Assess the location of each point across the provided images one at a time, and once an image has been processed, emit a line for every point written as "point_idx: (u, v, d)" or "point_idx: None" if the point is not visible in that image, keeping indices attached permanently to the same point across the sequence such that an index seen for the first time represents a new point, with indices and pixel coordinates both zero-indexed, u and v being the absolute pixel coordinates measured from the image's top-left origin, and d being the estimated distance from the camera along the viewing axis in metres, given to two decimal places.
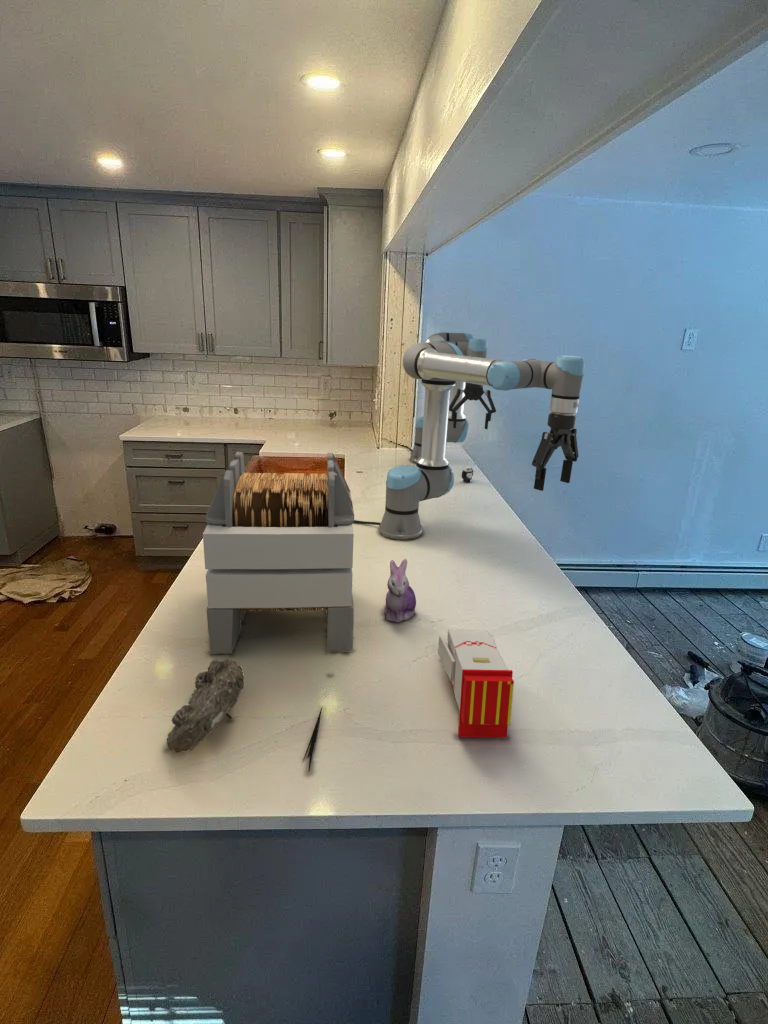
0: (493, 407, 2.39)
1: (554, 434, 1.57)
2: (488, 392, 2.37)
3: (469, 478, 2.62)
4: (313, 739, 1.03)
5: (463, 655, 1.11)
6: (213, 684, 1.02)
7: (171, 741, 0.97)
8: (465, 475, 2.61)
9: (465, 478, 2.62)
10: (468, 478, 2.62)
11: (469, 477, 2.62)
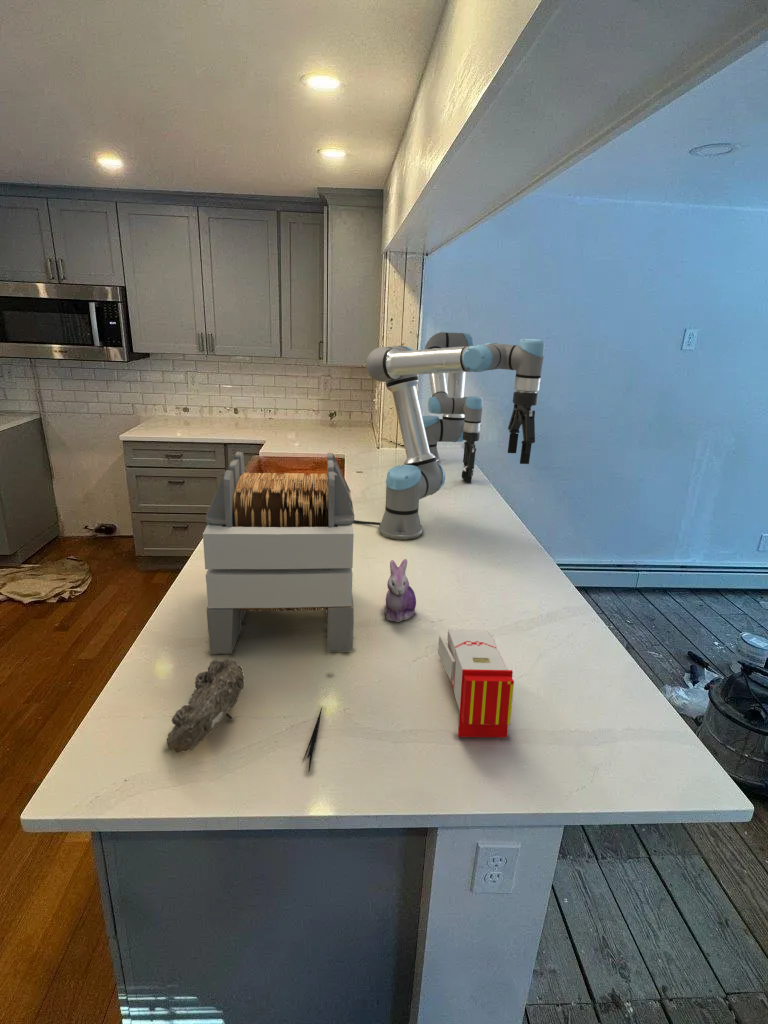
0: None
1: None
2: None
3: None
4: (313, 739, 1.03)
5: (463, 655, 1.11)
6: (213, 684, 1.02)
7: (171, 741, 0.97)
8: (465, 475, 2.61)
9: None
10: None
11: None
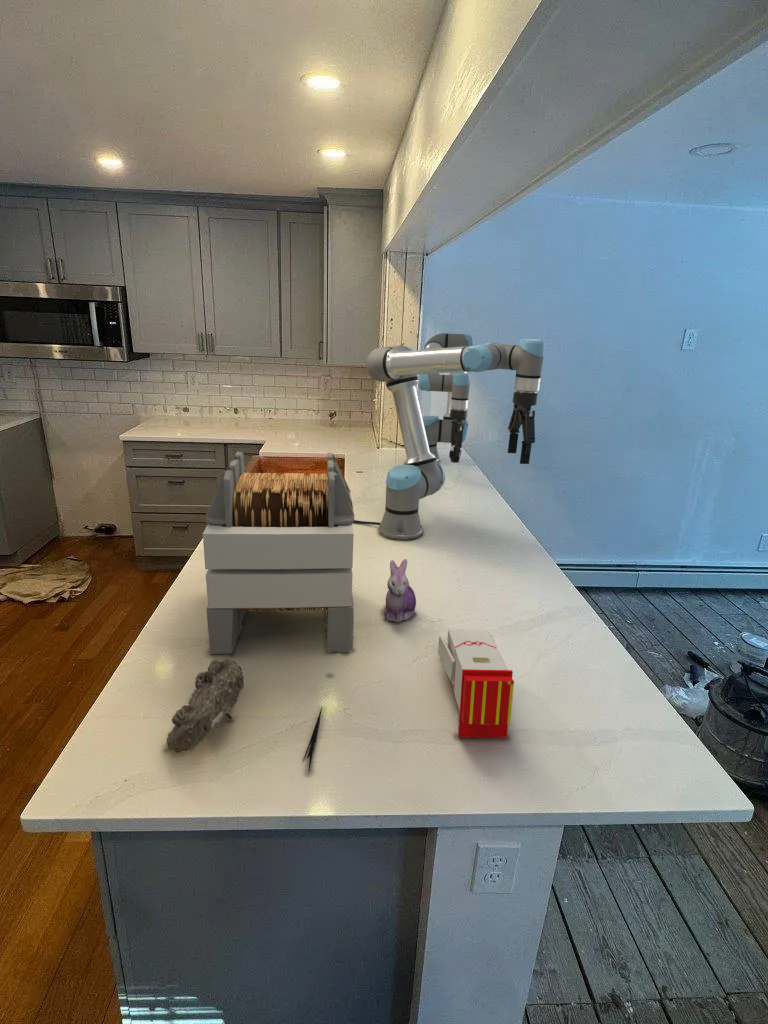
0: None
1: None
2: None
3: None
4: (313, 739, 1.03)
5: (463, 655, 1.11)
6: (213, 684, 1.02)
7: (171, 741, 0.97)
8: None
9: None
10: None
11: None
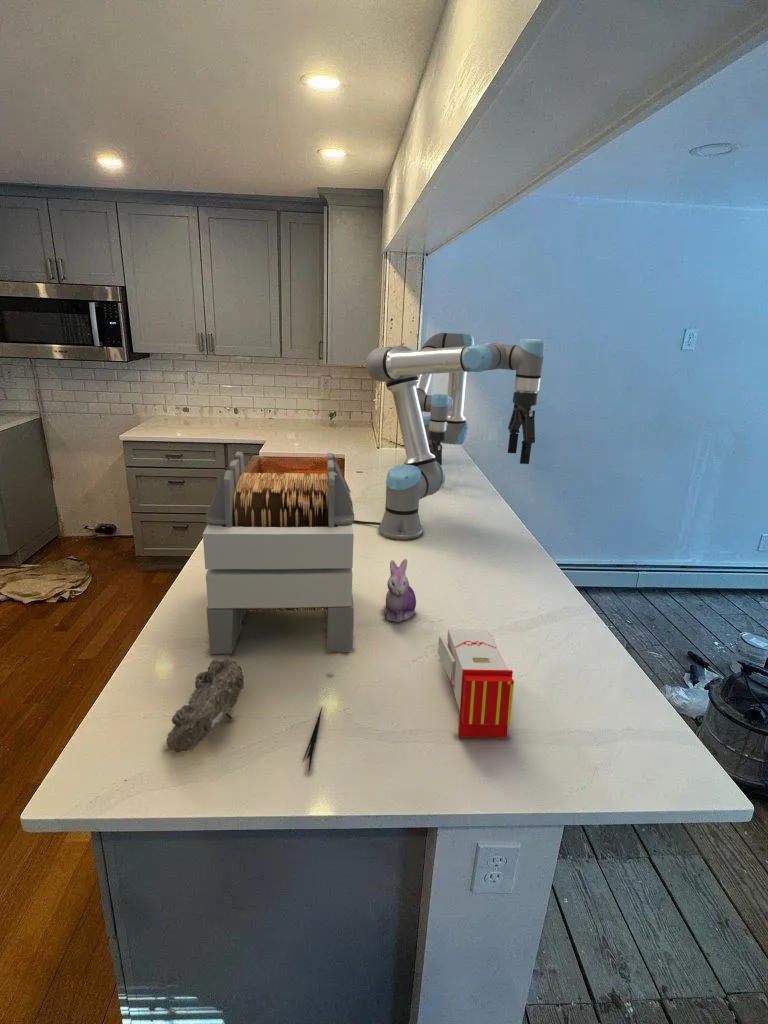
0: None
1: None
2: None
3: None
4: (313, 739, 1.03)
5: (463, 655, 1.11)
6: (213, 684, 1.02)
7: (171, 741, 0.97)
8: None
9: None
10: None
11: None
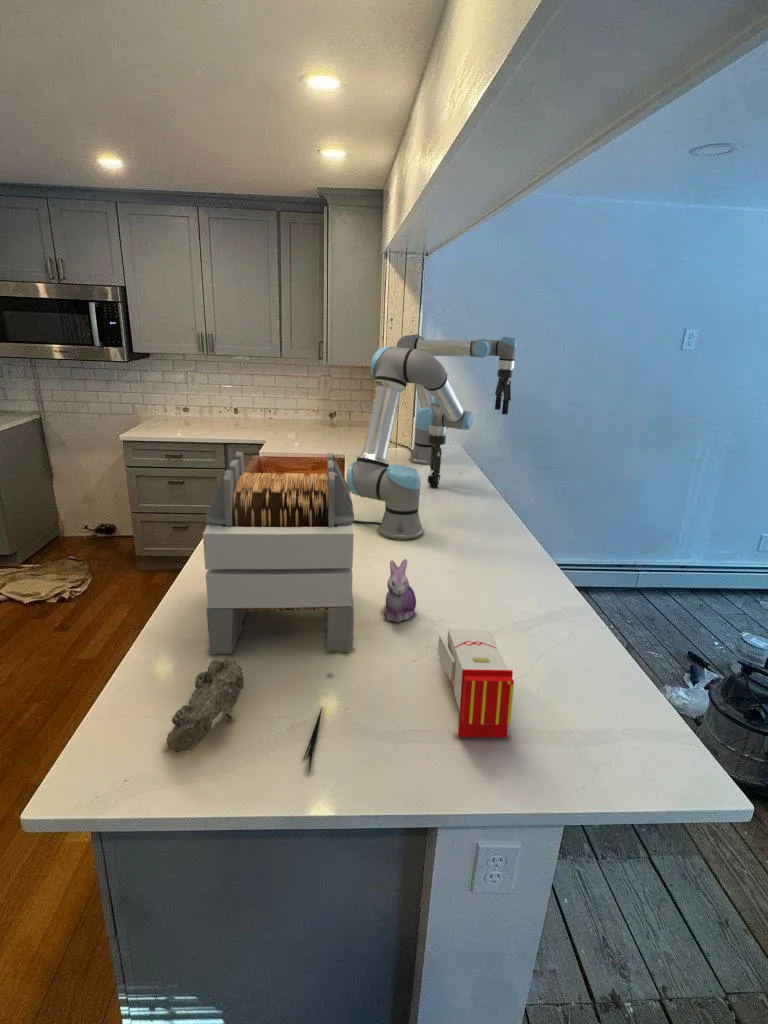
0: None
1: (439, 450, 2.45)
2: None
3: None
4: (313, 739, 1.03)
5: (463, 655, 1.11)
6: (213, 684, 1.02)
7: (171, 741, 0.97)
8: (431, 480, 2.52)
9: (431, 483, 2.52)
10: None
11: None
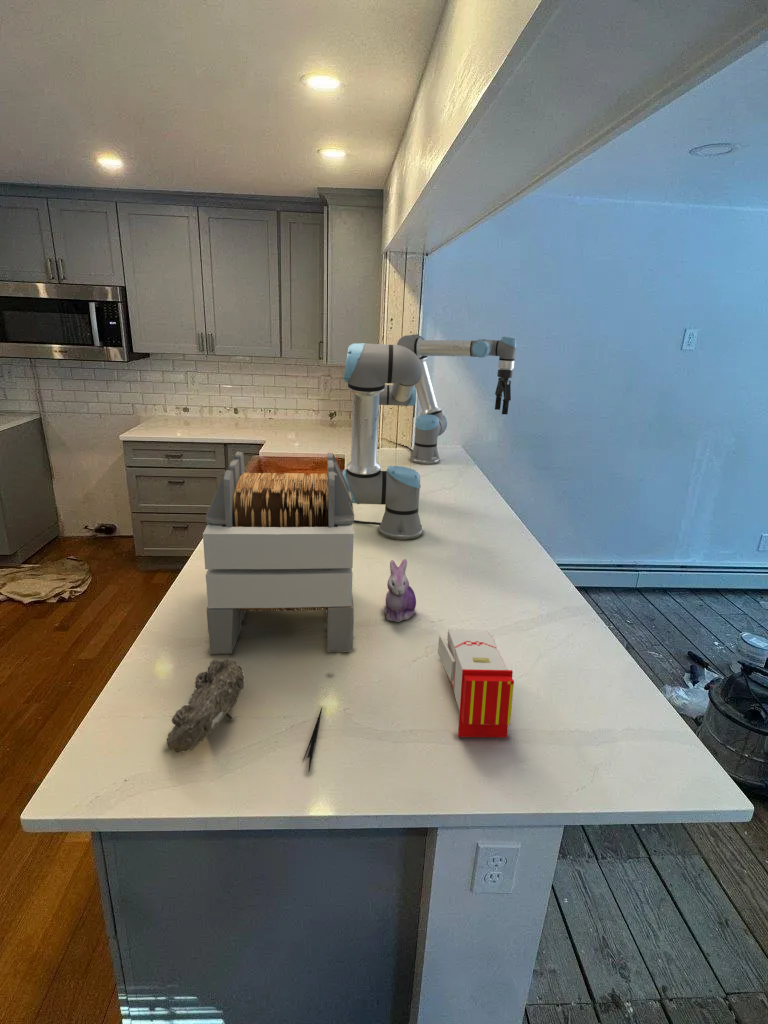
0: None
1: None
2: None
3: None
4: (313, 739, 1.03)
5: (463, 655, 1.11)
6: (213, 684, 1.02)
7: (171, 741, 0.97)
8: None
9: None
10: None
11: None
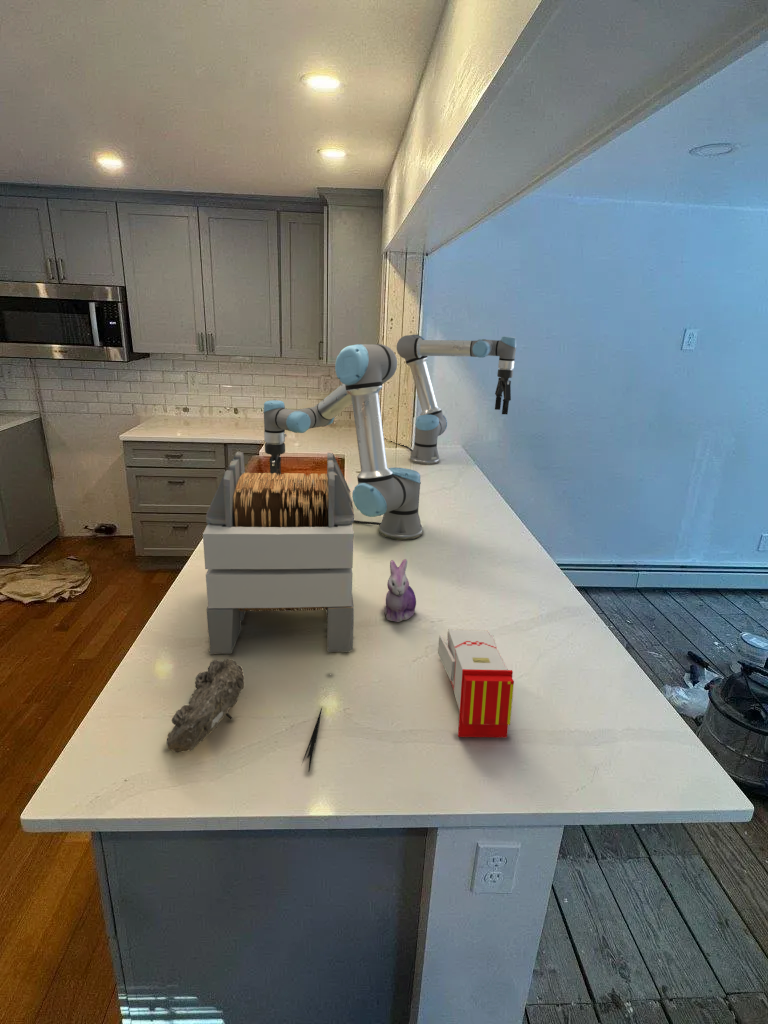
0: None
1: (276, 460, 2.10)
2: None
3: None
4: (313, 739, 1.03)
5: (463, 655, 1.11)
6: (213, 684, 1.02)
7: (171, 741, 0.97)
8: None
9: None
10: None
11: None
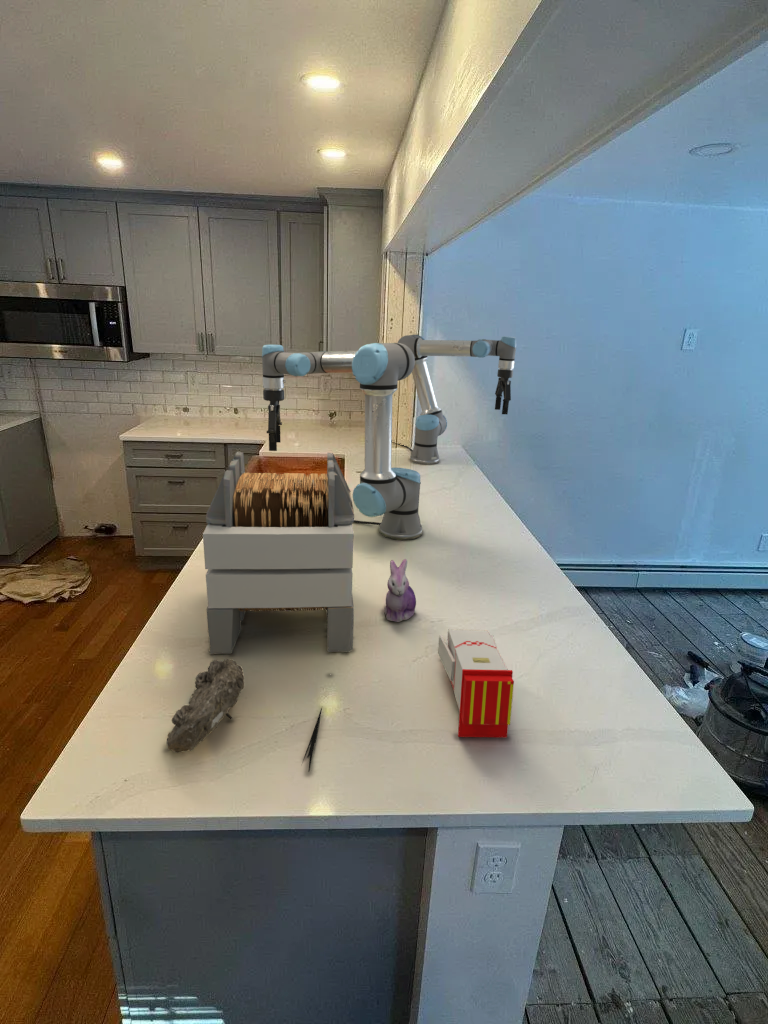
0: None
1: None
2: None
3: None
4: (313, 739, 1.03)
5: (463, 655, 1.11)
6: (213, 684, 1.02)
7: (171, 741, 0.97)
8: None
9: None
10: None
11: None
